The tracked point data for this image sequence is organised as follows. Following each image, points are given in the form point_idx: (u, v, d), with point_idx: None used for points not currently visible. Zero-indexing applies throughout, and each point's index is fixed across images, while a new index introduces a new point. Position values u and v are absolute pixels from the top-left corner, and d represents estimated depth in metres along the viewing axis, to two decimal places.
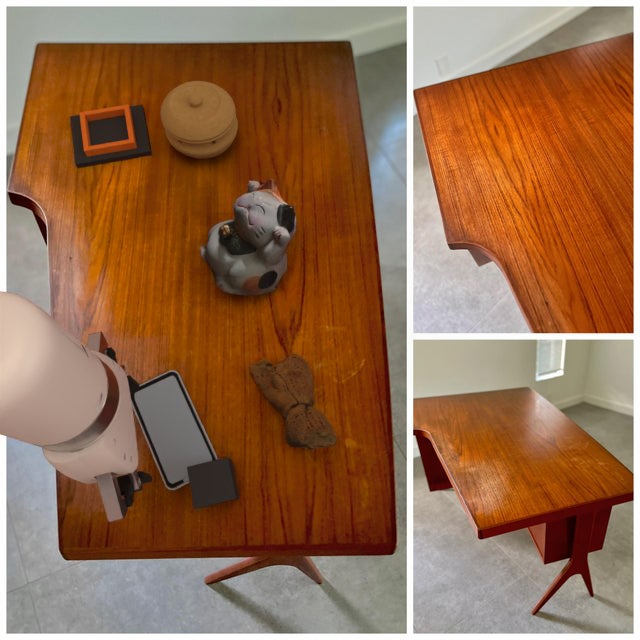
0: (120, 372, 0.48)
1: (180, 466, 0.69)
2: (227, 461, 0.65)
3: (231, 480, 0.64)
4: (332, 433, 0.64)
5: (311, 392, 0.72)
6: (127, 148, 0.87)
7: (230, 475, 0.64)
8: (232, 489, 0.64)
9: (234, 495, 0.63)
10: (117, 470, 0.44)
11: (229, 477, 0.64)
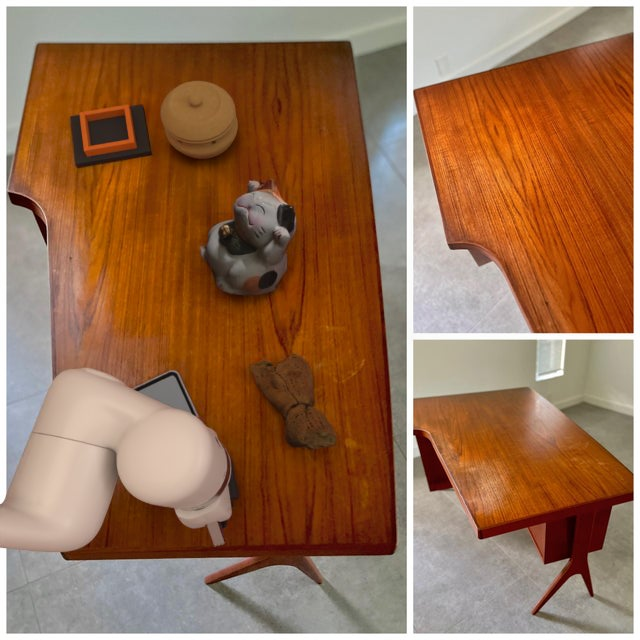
0: (217, 438, 0.61)
1: None
2: None
3: (231, 478, 0.64)
4: (332, 433, 0.64)
5: (311, 392, 0.72)
6: (127, 148, 0.87)
7: None
8: (232, 487, 0.64)
9: (234, 493, 0.63)
10: (221, 519, 0.57)
11: None
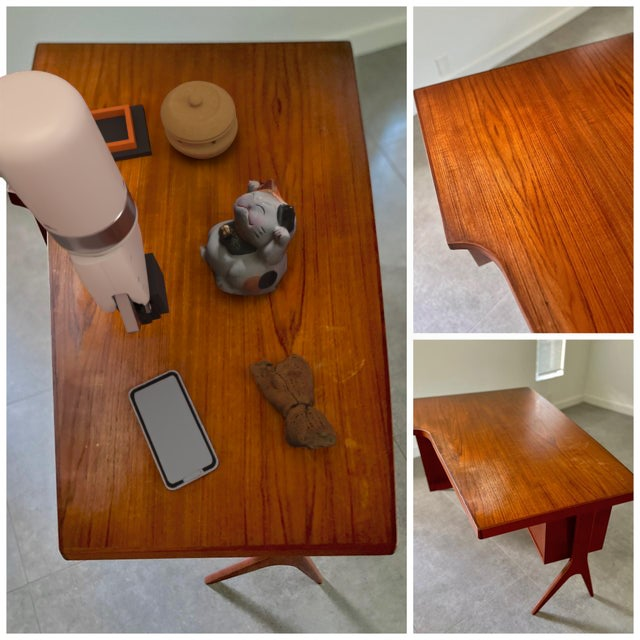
0: None
1: (180, 466, 0.69)
2: (152, 257, 0.58)
3: (155, 275, 0.58)
4: (332, 433, 0.64)
5: (311, 392, 0.72)
6: (127, 148, 0.87)
7: (154, 270, 0.58)
8: (155, 284, 0.57)
9: (157, 290, 0.57)
10: (131, 292, 0.50)
11: (153, 272, 0.58)
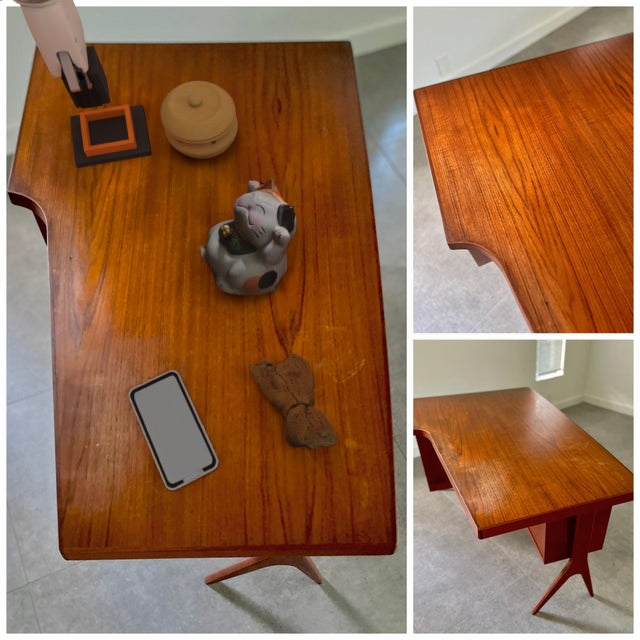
0: (75, 7, 0.71)
1: (180, 466, 0.69)
2: (93, 48, 0.75)
3: (95, 61, 0.75)
4: (332, 433, 0.64)
5: (311, 392, 0.72)
6: (127, 148, 0.87)
7: (94, 57, 0.75)
8: (95, 66, 0.74)
9: (96, 70, 0.74)
10: (71, 52, 0.68)
11: (93, 58, 0.75)
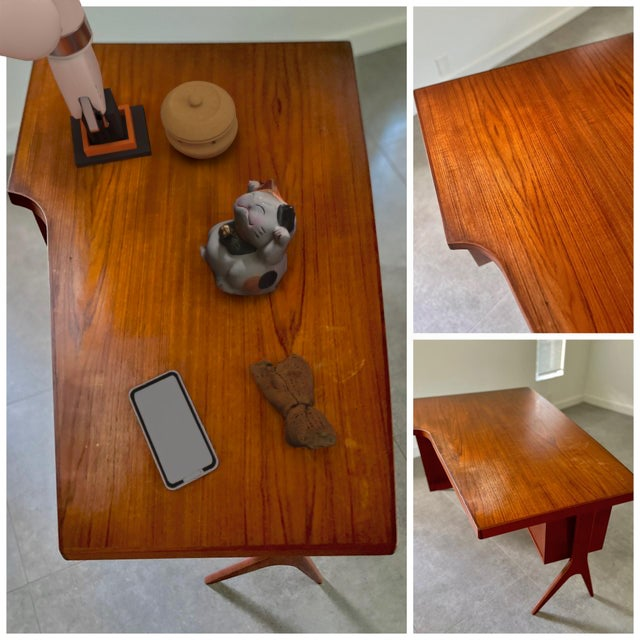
0: None
1: (180, 466, 0.69)
2: (109, 90, 0.82)
3: (111, 102, 0.82)
4: (332, 433, 0.64)
5: (311, 392, 0.72)
6: (127, 148, 0.87)
7: (111, 99, 0.82)
8: (111, 107, 0.81)
9: (113, 111, 0.81)
10: (91, 97, 0.75)
11: (110, 100, 0.82)
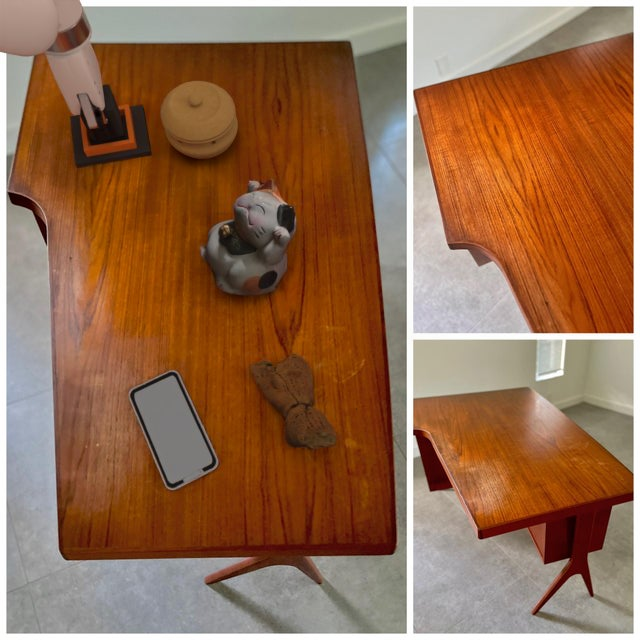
0: (93, 51, 0.78)
1: (180, 466, 0.69)
2: (108, 86, 0.82)
3: (110, 98, 0.81)
4: (332, 433, 0.64)
5: (311, 392, 0.72)
6: (127, 148, 0.87)
7: (110, 95, 0.81)
8: (110, 103, 0.81)
9: (112, 107, 0.81)
10: (90, 93, 0.74)
11: (109, 96, 0.81)
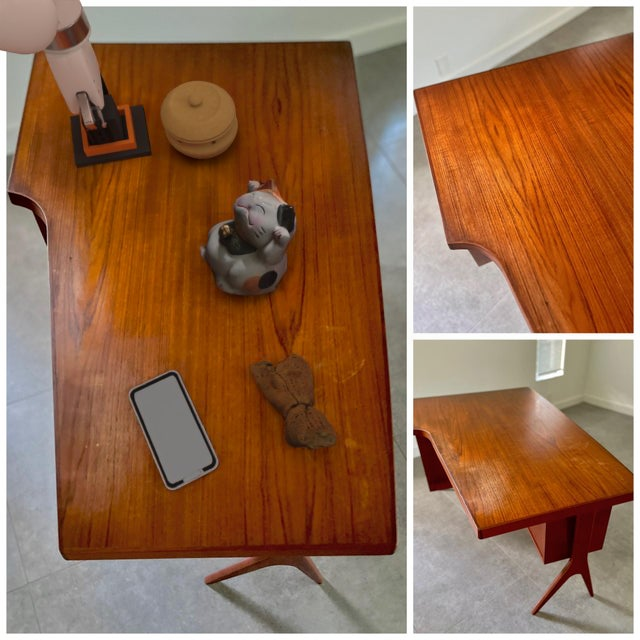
0: None
1: (180, 466, 0.69)
2: (110, 96, 0.83)
3: (112, 107, 0.82)
4: (332, 433, 0.64)
5: (311, 392, 0.72)
6: (127, 148, 0.87)
7: (112, 104, 0.83)
8: (112, 112, 0.82)
9: (113, 116, 0.82)
10: (89, 92, 0.74)
11: (111, 105, 0.83)
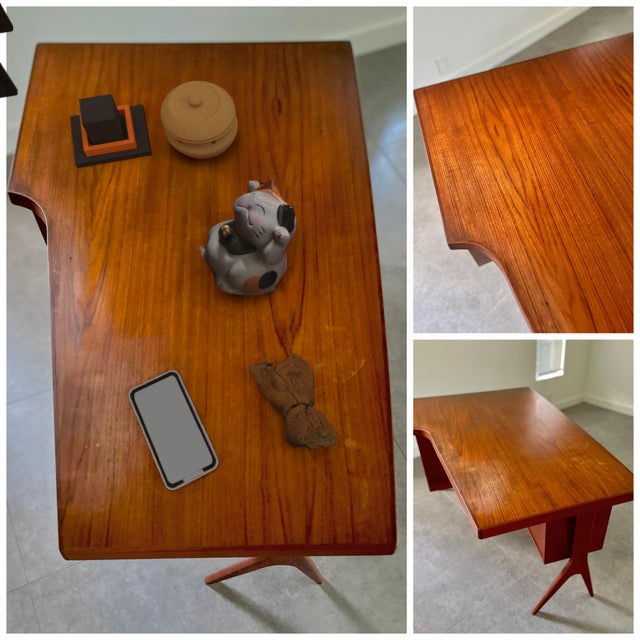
0: None
1: (180, 466, 0.69)
2: (110, 96, 0.83)
3: (112, 107, 0.82)
4: (332, 433, 0.64)
5: (311, 392, 0.72)
6: (127, 148, 0.87)
7: (112, 104, 0.83)
8: (112, 112, 0.82)
9: (113, 116, 0.82)
10: None
11: (111, 105, 0.83)
